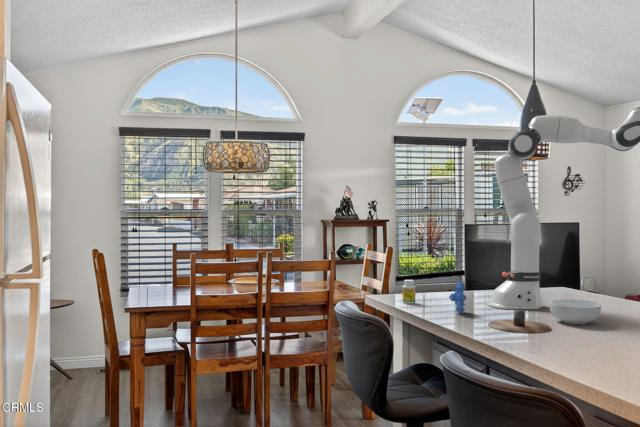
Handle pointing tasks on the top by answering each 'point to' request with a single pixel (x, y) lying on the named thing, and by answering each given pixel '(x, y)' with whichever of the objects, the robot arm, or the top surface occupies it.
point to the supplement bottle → (409, 292)
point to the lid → (519, 324)
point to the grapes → (459, 297)
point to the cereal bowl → (575, 310)
